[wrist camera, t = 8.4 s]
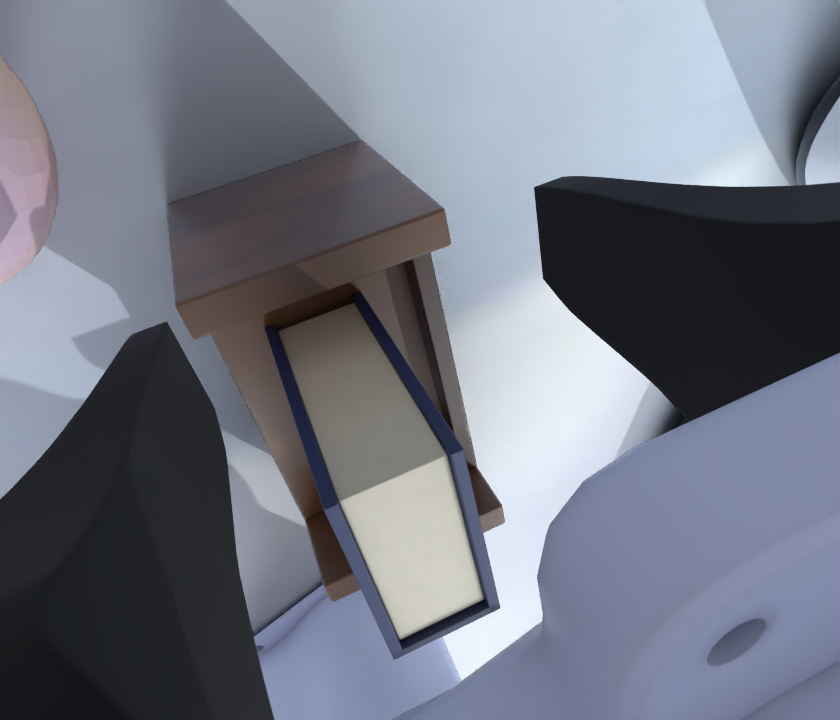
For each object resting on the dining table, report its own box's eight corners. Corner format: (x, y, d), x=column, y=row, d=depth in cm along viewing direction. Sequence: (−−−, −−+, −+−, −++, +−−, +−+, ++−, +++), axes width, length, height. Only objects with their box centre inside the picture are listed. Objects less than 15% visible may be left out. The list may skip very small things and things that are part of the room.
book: (325, 467, 21) (394, 660, 15) (263, 327, 18) (323, 509, 12) (404, 433, 22) (501, 608, 16) (360, 290, 18) (463, 448, 12)
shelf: (292, 467, 26) (332, 603, 21) (165, 204, 19) (173, 305, 13) (432, 408, 27) (506, 523, 22) (362, 139, 20) (445, 207, 15)
